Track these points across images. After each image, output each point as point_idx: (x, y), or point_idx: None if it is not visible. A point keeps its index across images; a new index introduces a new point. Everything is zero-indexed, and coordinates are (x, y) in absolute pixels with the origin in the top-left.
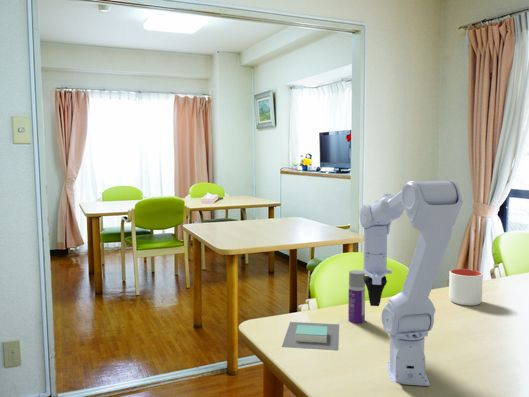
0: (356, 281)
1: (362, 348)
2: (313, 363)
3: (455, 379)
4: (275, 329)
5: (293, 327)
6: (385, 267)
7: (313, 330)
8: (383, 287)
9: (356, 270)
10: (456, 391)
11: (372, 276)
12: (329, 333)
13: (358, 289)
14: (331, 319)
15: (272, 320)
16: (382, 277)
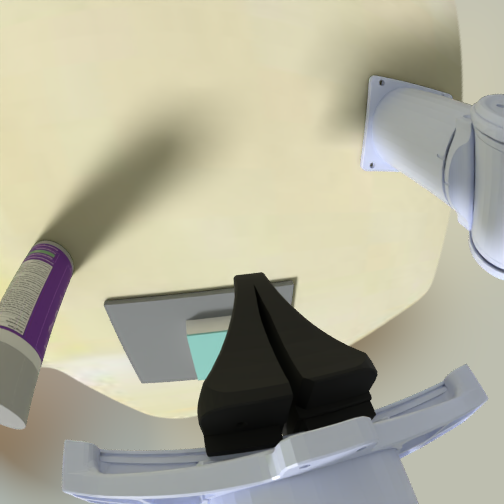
0: (27, 387)
1: (256, 229)
2: (344, 309)
3: (418, 22)
4: (183, 390)
5: (172, 375)
6: (390, 482)
7: None
8: (338, 342)
9: None
10: (458, 49)
11: (454, 425)
12: (182, 317)
13: (32, 352)
14: (65, 319)
15: (138, 399)
16: (281, 412)
